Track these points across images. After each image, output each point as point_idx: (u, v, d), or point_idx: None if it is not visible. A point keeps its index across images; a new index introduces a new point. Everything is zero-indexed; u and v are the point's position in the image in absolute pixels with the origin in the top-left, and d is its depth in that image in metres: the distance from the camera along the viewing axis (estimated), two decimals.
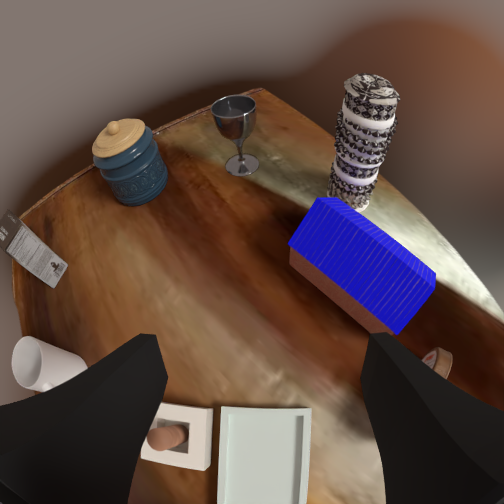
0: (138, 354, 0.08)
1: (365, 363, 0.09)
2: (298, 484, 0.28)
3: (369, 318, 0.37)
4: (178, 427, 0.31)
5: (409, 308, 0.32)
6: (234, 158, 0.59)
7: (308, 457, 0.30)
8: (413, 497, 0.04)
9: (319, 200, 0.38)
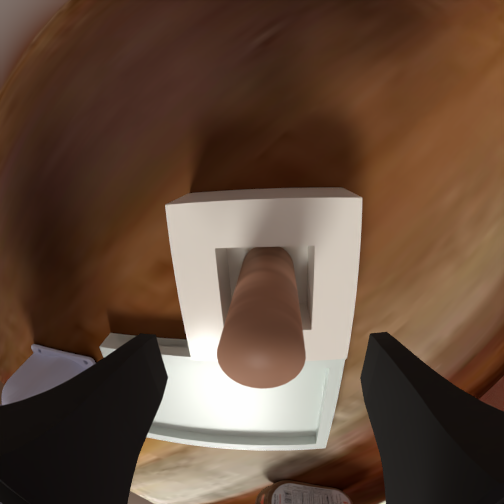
0: (138, 354, 0.08)
1: (365, 363, 0.09)
2: (199, 432, 0.23)
3: None
4: None
5: None
6: None
7: (247, 449, 0.22)
8: (413, 497, 0.04)
9: None
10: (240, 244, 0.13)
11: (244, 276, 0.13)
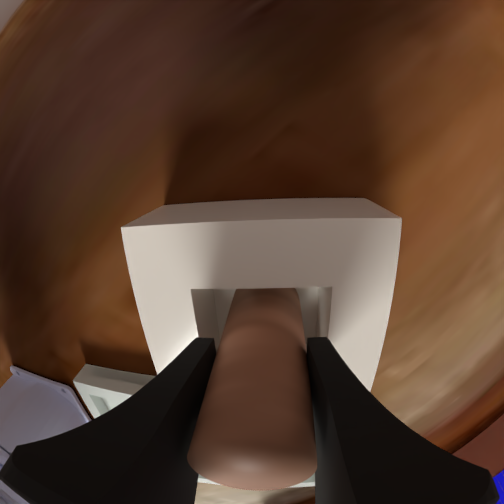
0: (203, 360, 0.07)
1: None
2: None
3: None
4: None
5: None
6: None
7: None
8: None
9: None
10: (225, 285, 0.09)
11: (231, 330, 0.09)
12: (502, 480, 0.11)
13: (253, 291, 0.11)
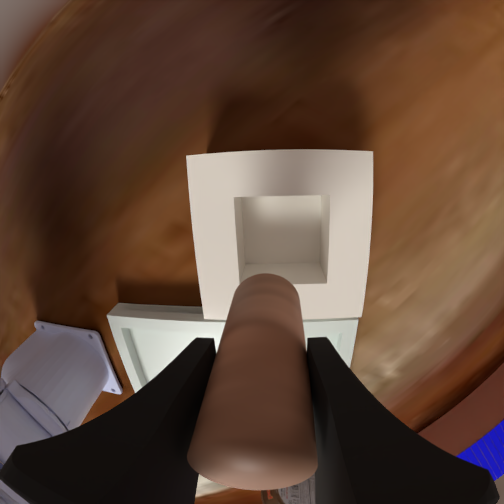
0: (203, 360, 0.07)
1: None
2: None
3: None
4: None
5: None
6: None
7: None
8: None
9: None
10: (258, 194, 0.13)
11: (231, 330, 0.09)
12: (501, 433, 0.15)
13: (253, 290, 0.11)
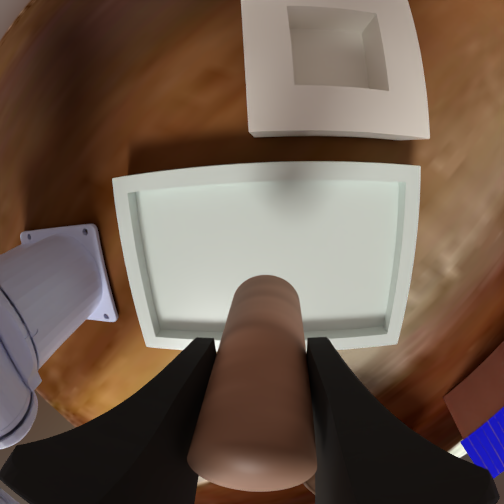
0: (203, 360, 0.07)
1: None
2: None
3: (487, 397, 0.17)
4: None
5: (483, 456, 0.14)
6: None
7: None
8: None
9: None
10: (310, 4, 0.10)
11: (231, 332, 0.09)
12: None
13: (253, 292, 0.11)
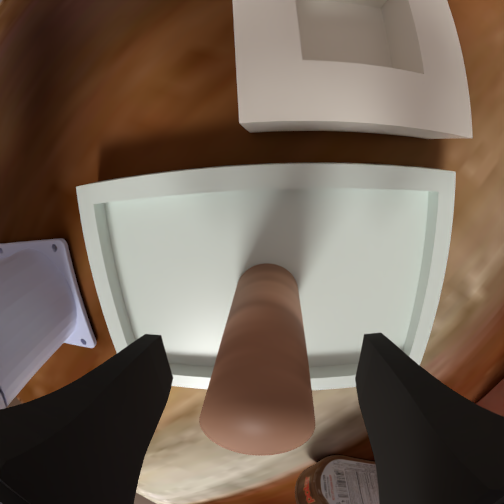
0: (144, 355, 0.08)
1: (359, 364, 0.09)
2: None
3: None
4: None
5: None
6: None
7: None
8: (405, 499, 0.04)
9: None
10: None
11: (237, 310, 0.10)
12: None
13: (256, 278, 0.12)
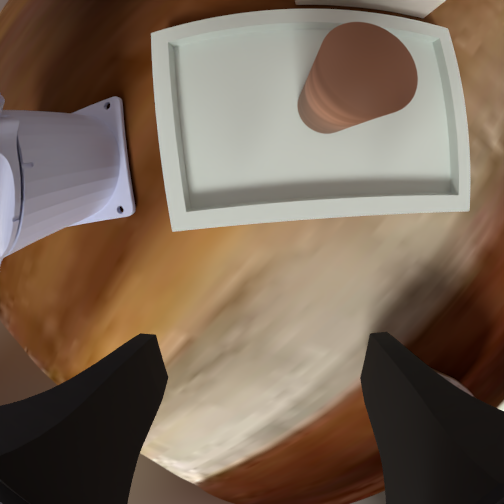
0: (138, 354, 0.08)
1: (365, 363, 0.09)
2: (282, 196, 0.15)
3: None
4: None
5: None
6: None
7: (368, 212, 0.14)
8: (413, 497, 0.04)
9: None
10: None
11: None
12: None
13: None
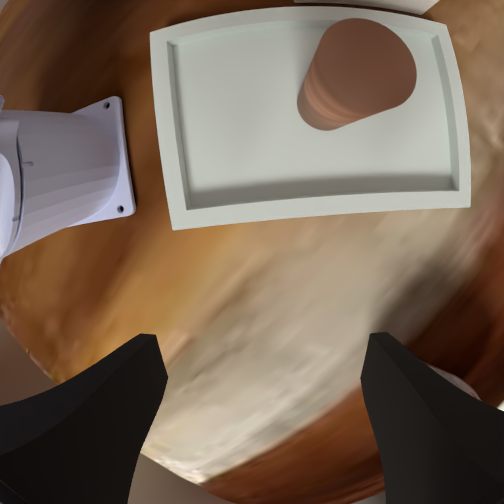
0: (138, 354, 0.08)
1: (365, 363, 0.09)
2: (282, 193, 0.15)
3: None
4: None
5: None
6: None
7: (369, 209, 0.14)
8: (413, 497, 0.04)
9: None
10: None
11: None
12: None
13: None
